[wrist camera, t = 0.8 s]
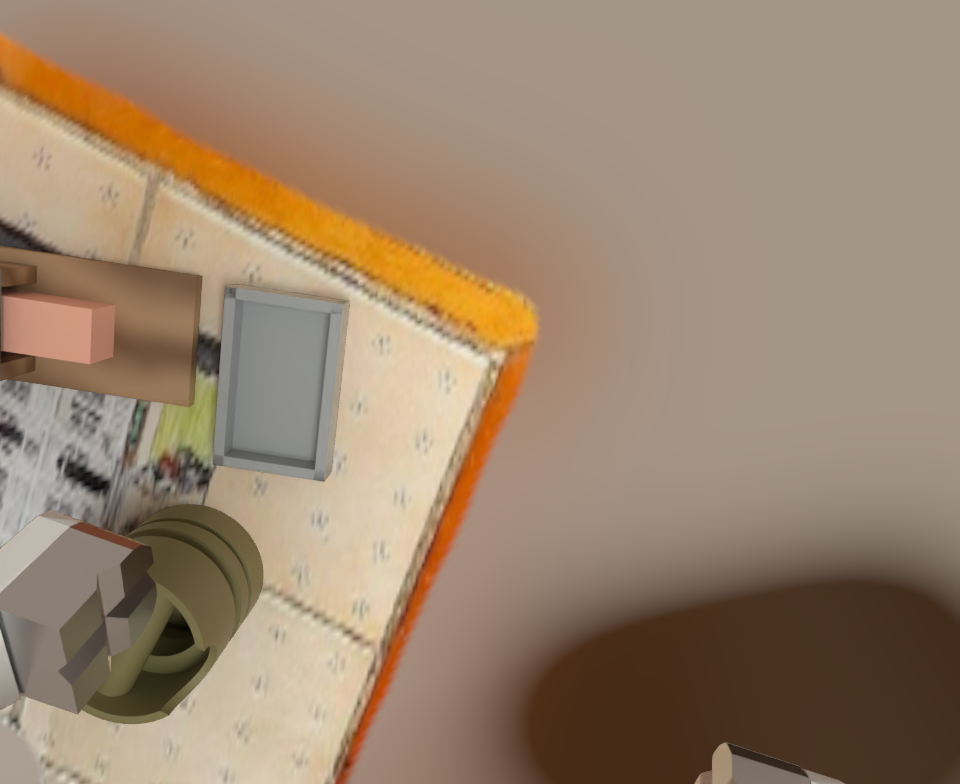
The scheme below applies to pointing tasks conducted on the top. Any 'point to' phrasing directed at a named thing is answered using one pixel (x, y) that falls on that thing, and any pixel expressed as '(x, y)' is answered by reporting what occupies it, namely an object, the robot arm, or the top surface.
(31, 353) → the salmon pink rectangular prism
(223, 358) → the tray
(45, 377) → the brown slab
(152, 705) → the piston
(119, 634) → the robot arm
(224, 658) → the top surface
